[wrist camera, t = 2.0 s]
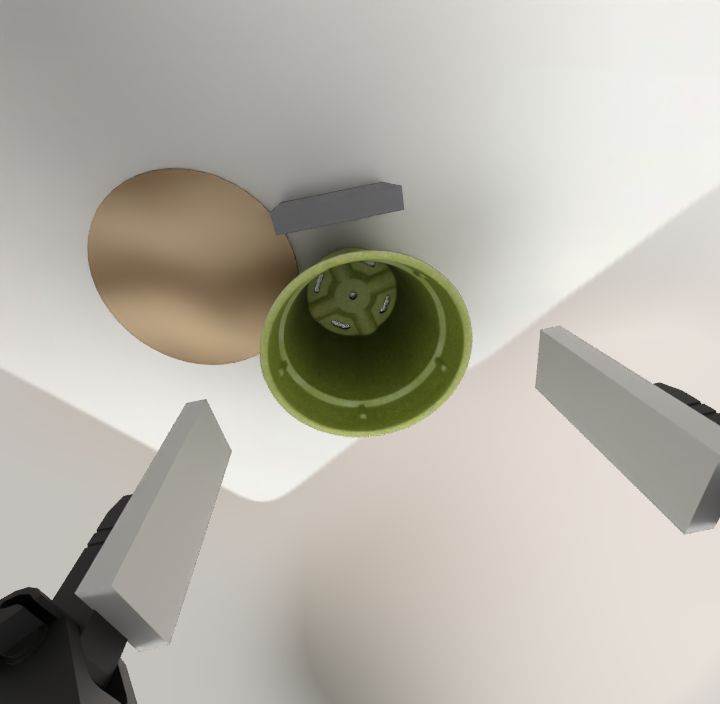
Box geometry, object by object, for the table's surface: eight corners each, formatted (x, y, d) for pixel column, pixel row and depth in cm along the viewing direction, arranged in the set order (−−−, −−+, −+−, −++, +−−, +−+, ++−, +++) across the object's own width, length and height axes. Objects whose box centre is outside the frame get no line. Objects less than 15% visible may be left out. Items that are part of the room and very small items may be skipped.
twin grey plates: (280, 202, 19) (269, 212, 15) (382, 182, 19) (401, 185, 15) (328, 381, 25) (330, 425, 21) (405, 364, 26) (423, 405, 21)
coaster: (43, 193, 18) (39, 193, 18) (265, 148, 18) (265, 148, 18) (151, 377, 24) (149, 380, 23) (318, 343, 24) (318, 345, 24)
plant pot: (390, 368, 26) (421, 452, 18) (265, 337, 23) (241, 419, 16) (443, 248, 22) (511, 291, 14) (299, 197, 19) (289, 215, 12)
